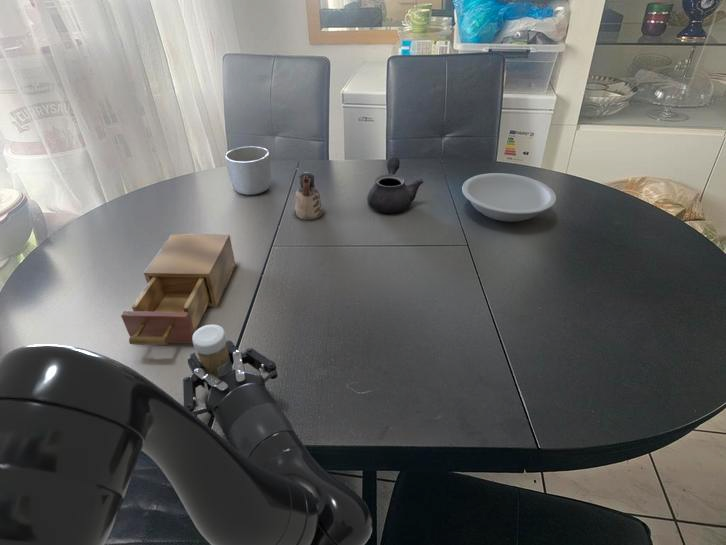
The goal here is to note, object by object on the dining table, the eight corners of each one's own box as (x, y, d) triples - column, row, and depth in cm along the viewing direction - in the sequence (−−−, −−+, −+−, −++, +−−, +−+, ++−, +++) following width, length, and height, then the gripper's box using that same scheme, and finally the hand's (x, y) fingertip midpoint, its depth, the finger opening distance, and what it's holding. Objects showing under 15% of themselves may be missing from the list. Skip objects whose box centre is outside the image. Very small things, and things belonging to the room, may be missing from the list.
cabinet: (216, 306, 90) (208, 274, 85) (155, 305, 90) (143, 273, 85) (235, 265, 101) (229, 234, 97) (181, 264, 102) (172, 233, 97)
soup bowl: (467, 188, 134) (470, 168, 130) (551, 201, 127) (557, 180, 123) (451, 226, 116) (454, 203, 112) (548, 243, 109) (555, 219, 105)
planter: (237, 201, 127) (230, 165, 121) (226, 185, 136) (220, 150, 129) (279, 193, 132) (274, 157, 125) (266, 177, 141) (261, 143, 134)
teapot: (425, 215, 121) (428, 180, 115) (368, 216, 120) (368, 182, 114) (414, 185, 136) (417, 153, 130) (364, 186, 135) (364, 154, 129)
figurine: (324, 208, 124) (322, 167, 117) (319, 221, 118) (317, 178, 111) (299, 207, 124) (295, 166, 117) (293, 219, 119) (289, 177, 112)
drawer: (186, 360, 77) (177, 333, 73) (120, 359, 77) (108, 332, 73) (216, 295, 91) (210, 270, 87) (161, 294, 91) (152, 269, 88)
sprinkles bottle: (204, 397, 71) (184, 336, 64) (225, 379, 74) (209, 319, 67) (223, 411, 69) (206, 349, 61) (245, 391, 72) (231, 330, 65)
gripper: (302, 382, 59) (247, 314, 70) (196, 439, 52) (154, 353, 64) (306, 417, 64) (254, 347, 75) (209, 473, 57) (168, 387, 68)
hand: (208, 350), depth 69 cm, fingers closed on sprinkles bottle, 4 cm apart
